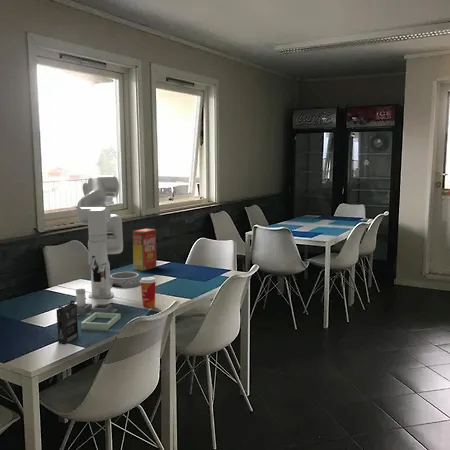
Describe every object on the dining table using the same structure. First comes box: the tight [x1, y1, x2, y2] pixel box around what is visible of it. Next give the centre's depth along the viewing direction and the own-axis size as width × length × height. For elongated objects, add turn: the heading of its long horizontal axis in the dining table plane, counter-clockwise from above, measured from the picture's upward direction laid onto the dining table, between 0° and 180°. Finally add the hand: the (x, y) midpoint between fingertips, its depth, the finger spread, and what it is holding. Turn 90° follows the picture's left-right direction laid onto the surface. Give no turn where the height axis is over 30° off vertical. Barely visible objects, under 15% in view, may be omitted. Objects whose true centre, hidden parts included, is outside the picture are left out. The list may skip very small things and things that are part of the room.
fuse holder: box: [77, 302, 118, 316], centre depth 234 cm, size 10×22×4 cm, turn 80°
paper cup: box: [140, 276, 157, 309], centre depth 243 cm, size 8×8×14 cm
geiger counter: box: [56, 300, 79, 346], centre depth 200 cm, size 10×4×15 cm, turn 163°
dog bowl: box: [110, 271, 141, 289], centre depth 287 cm, size 17×18×5 cm
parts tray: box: [80, 312, 122, 332], centre depth 218 cm, size 14×12×3 cm
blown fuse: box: [95, 264, 105, 289], centre depth 216 cm, size 4×4×10 cm
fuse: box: [75, 288, 87, 308], centre depth 234 cm, size 4×4×10 cm
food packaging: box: [132, 227, 157, 272], centre depth 324 cm, size 13×9×25 cm
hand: (99, 280), depth 216 cm, fingers closed on blown fuse, 4 cm apart
